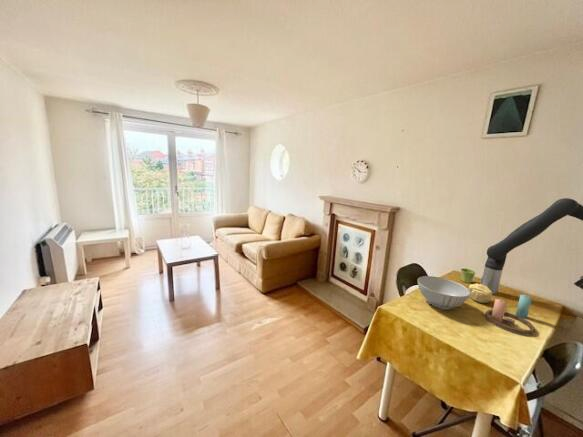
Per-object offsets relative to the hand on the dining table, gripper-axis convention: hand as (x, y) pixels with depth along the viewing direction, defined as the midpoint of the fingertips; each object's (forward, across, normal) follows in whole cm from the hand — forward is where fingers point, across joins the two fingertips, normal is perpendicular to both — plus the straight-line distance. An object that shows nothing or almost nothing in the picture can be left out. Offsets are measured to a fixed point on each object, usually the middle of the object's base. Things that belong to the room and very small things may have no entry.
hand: (578, 286), depth 124 cm
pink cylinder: (+38, +24, -12) cm, 46 cm away
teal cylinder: (+30, +6, -4) cm, 30 cm away
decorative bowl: (+52, +25, -34) cm, 67 cm away
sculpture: (+40, +1, -20) cm, 44 cm away
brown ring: (+35, +21, -8) cm, 41 cm away
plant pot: (+40, -29, -30) cm, 58 cm away
